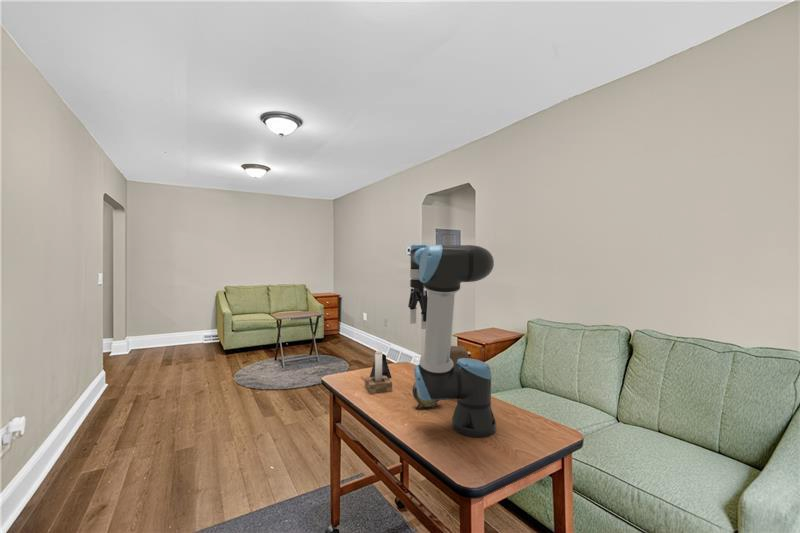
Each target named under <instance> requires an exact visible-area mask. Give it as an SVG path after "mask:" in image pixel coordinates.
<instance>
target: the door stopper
mask: <svg viewBox="0 0 800 533" xmlns="http://www.w3.org/2000/svg"><path fill="white" fill-rule="evenodd" d="M385 375H386V376H387V377H388V378H389V379H392V374H391V371H390V368H389V365H388V362H387V355H386V354H383V353H382V376H385ZM369 377H375V360H374V361H373V365H372V368H371V372H370V375H369Z"/></svg>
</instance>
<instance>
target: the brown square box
mask: <svg viewBox="0 0 800 533" xmlns="http://www.w3.org/2000/svg"><path fill="white" fill-rule="evenodd" d="M364 387H365V389H366V390H367V392H368V393H369V395H374V394H383V393H389V392H390V393H391V392H393V382H392V381H391V379H390V378H388V377H387V376H386V375H385V376H382V382H375V377H370V376H368V377H365V381H364Z"/></svg>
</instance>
